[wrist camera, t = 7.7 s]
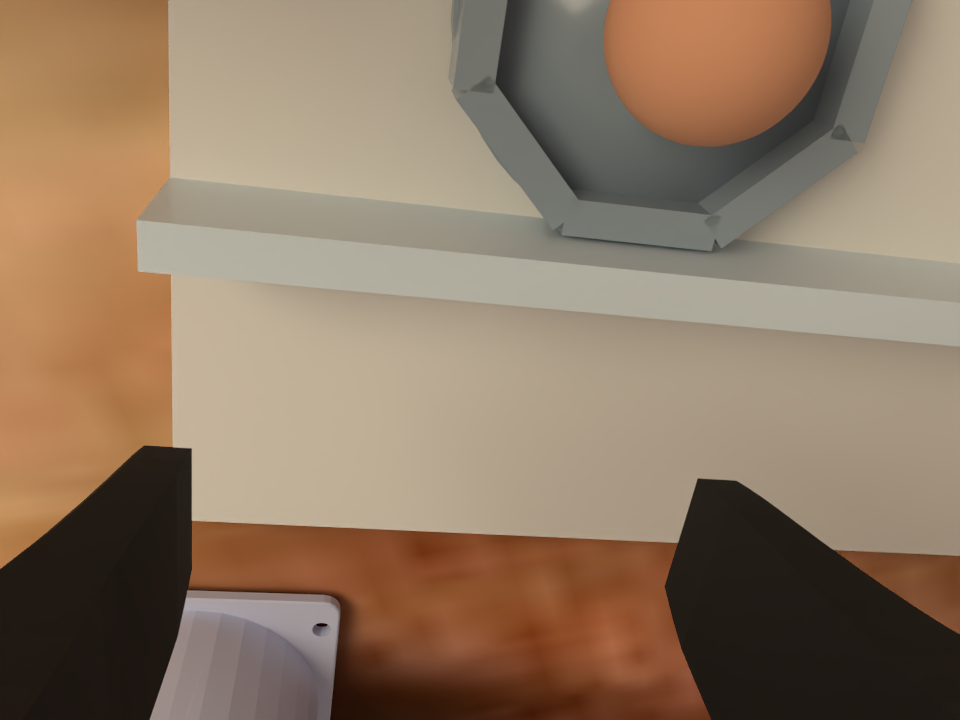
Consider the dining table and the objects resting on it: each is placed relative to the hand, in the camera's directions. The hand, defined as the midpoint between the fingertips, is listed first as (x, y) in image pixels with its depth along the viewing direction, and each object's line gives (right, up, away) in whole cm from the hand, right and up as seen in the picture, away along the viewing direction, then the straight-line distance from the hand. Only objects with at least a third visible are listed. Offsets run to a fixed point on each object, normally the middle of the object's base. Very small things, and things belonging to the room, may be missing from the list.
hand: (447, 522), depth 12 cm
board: (+5, +6, +9) cm, 12 cm away
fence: (+5, +5, +9) cm, 12 cm away
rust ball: (+5, +8, +4) cm, 10 cm away
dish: (+4, +9, +6) cm, 12 cm away
